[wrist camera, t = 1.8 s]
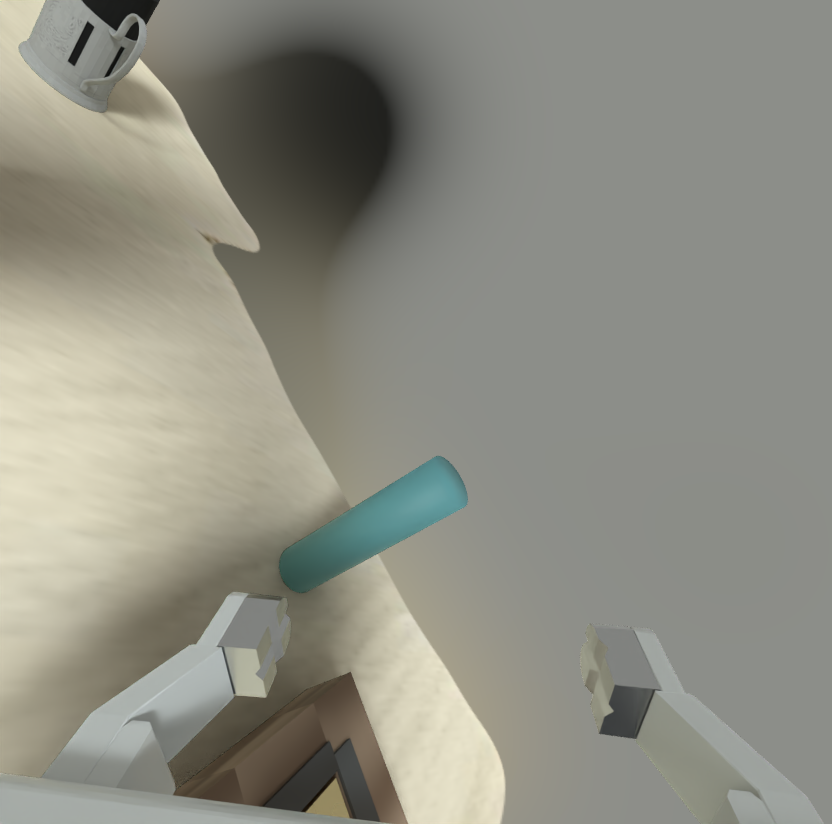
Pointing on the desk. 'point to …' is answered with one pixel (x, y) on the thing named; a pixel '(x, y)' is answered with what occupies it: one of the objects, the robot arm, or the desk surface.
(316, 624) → the desk surface
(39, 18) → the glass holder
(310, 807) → the tan square plate
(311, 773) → the socket block
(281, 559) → the peg
